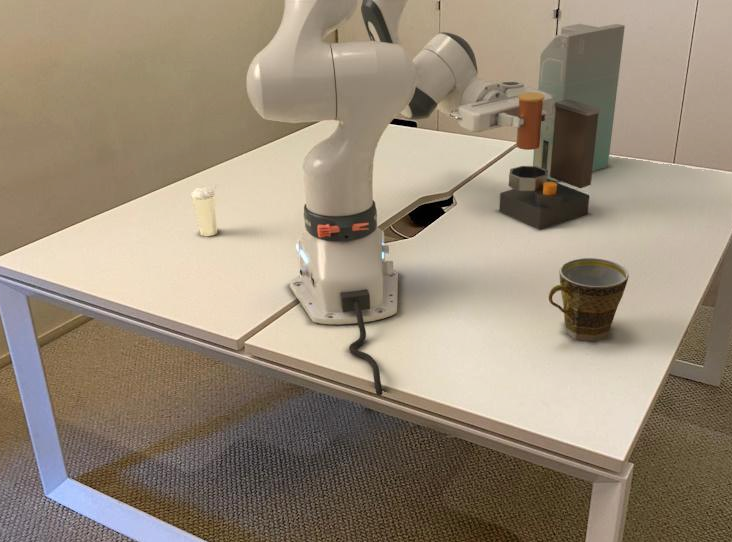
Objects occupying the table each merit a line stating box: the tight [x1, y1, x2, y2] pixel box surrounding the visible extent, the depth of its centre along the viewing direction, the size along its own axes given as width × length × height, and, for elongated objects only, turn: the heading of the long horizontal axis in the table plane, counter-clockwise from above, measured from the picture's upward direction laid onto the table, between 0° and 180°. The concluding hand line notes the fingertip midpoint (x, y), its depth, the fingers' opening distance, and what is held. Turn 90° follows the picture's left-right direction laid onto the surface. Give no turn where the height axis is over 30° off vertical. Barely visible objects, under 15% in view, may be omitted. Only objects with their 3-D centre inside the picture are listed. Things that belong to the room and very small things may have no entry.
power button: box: [543, 181, 558, 195], centre depth 163 cm, size 3×3×2 cm
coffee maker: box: [508, 99, 600, 191], centre depth 163 cm, size 12×13×15 cm
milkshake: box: [190, 184, 218, 237], centre depth 164 cm, size 4×5×10 cm
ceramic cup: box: [548, 257, 630, 343], centre depth 126 cm, size 13×10×10 cm
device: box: [532, 23, 626, 183], centre depth 183 cm, size 16×8×30 cm, turn 124°
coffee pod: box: [516, 92, 545, 151], centre depth 160 cm, size 5×5×10 cm
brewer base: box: [498, 178, 590, 230], centre depth 168 cm, size 13×13×6 cm
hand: (533, 120), depth 159 cm, fingers closed on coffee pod, 4 cm apart
